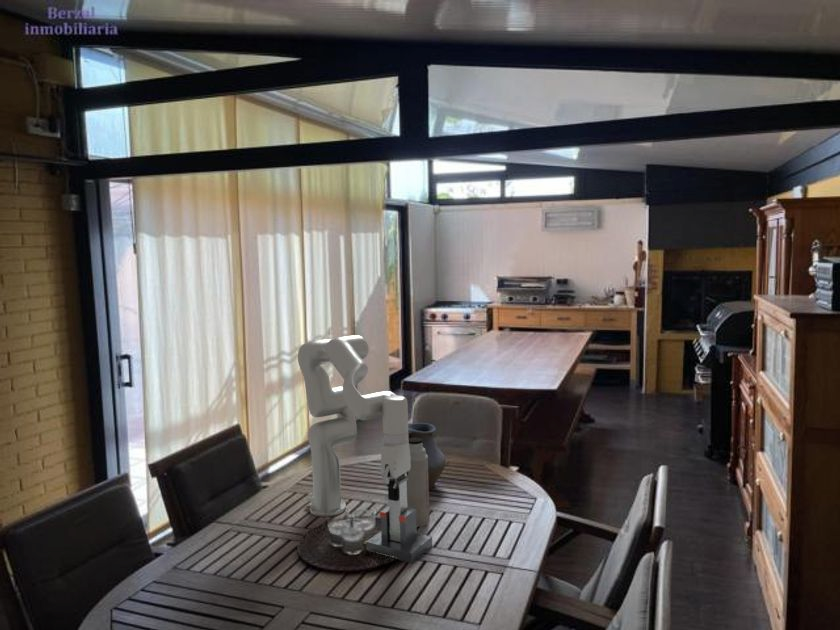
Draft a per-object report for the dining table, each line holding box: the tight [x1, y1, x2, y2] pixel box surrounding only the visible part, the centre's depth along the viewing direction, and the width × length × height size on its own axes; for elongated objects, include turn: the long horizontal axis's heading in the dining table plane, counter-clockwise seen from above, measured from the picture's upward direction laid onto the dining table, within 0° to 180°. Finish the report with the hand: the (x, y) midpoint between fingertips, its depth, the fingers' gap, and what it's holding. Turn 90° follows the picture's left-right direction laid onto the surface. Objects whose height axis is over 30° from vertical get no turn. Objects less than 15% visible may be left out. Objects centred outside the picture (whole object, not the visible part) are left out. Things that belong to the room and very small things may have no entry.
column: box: [388, 475, 408, 542], centre depth 189 cm, size 5×5×19 cm
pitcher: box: [408, 422, 447, 490], centre depth 237 cm, size 21×22×25 cm
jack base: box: [365, 505, 433, 564], centre depth 189 cm, size 16×12×12 cm
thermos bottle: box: [407, 438, 431, 528], centre depth 207 cm, size 8×8×28 cm
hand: (397, 496), depth 188 cm, fingers closed on column, 4 cm apart
